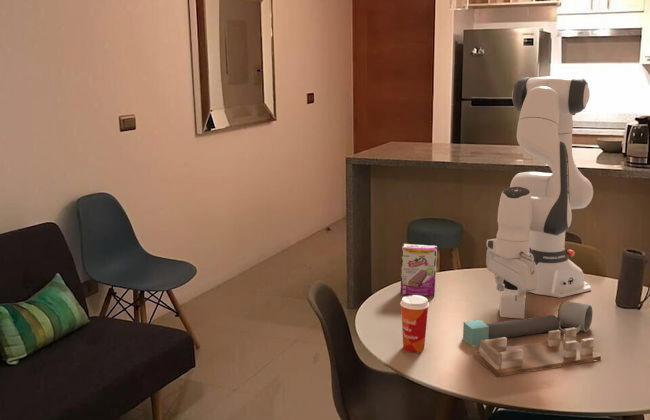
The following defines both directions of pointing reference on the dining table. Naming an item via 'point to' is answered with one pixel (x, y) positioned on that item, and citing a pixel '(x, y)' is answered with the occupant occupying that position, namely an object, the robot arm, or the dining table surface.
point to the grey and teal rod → (507, 328)
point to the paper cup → (414, 322)
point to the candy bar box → (418, 270)
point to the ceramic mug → (575, 316)
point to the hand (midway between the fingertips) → (509, 296)
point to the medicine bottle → (511, 302)
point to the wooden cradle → (535, 353)
